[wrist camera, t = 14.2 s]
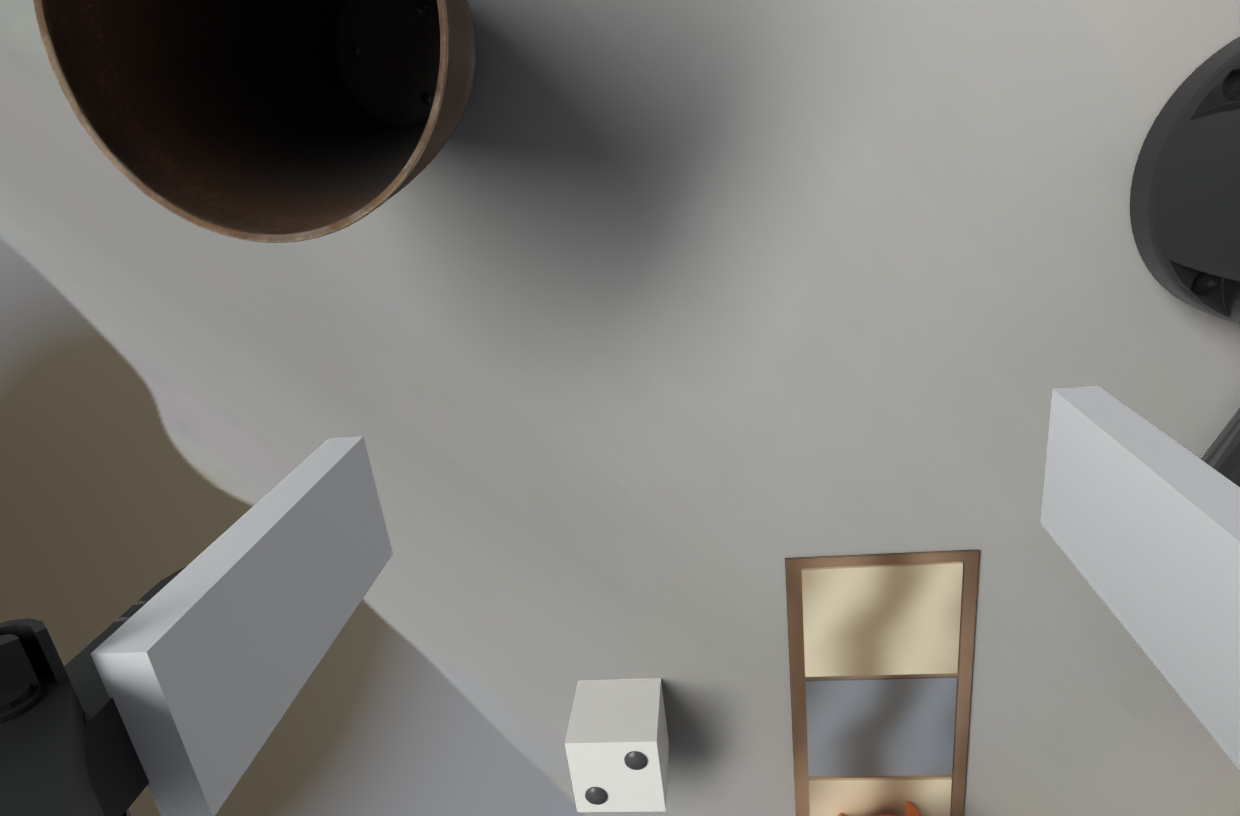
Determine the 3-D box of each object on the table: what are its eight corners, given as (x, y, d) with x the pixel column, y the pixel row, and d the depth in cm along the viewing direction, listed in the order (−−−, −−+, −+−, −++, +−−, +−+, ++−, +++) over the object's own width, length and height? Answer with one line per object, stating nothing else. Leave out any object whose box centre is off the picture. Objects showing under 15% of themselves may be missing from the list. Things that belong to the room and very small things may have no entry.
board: (978, 549, 49) (980, 553, 49) (954, 948, 62) (955, 953, 62) (785, 558, 51) (785, 561, 50) (801, 945, 64) (802, 950, 63)
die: (660, 677, 55) (656, 742, 50) (668, 742, 57) (665, 812, 52) (578, 679, 56) (564, 744, 50) (589, 744, 58) (577, 813, 53)
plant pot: (220, 77, 43) (-33, 65, 28) (354, -185, 38) (131, -368, 23) (441, 249, 45) (314, 320, 30) (595, 24, 40) (533, -21, 25)
